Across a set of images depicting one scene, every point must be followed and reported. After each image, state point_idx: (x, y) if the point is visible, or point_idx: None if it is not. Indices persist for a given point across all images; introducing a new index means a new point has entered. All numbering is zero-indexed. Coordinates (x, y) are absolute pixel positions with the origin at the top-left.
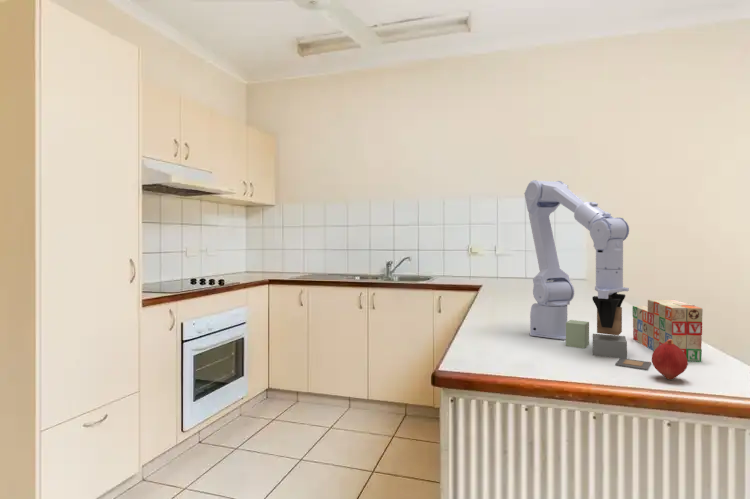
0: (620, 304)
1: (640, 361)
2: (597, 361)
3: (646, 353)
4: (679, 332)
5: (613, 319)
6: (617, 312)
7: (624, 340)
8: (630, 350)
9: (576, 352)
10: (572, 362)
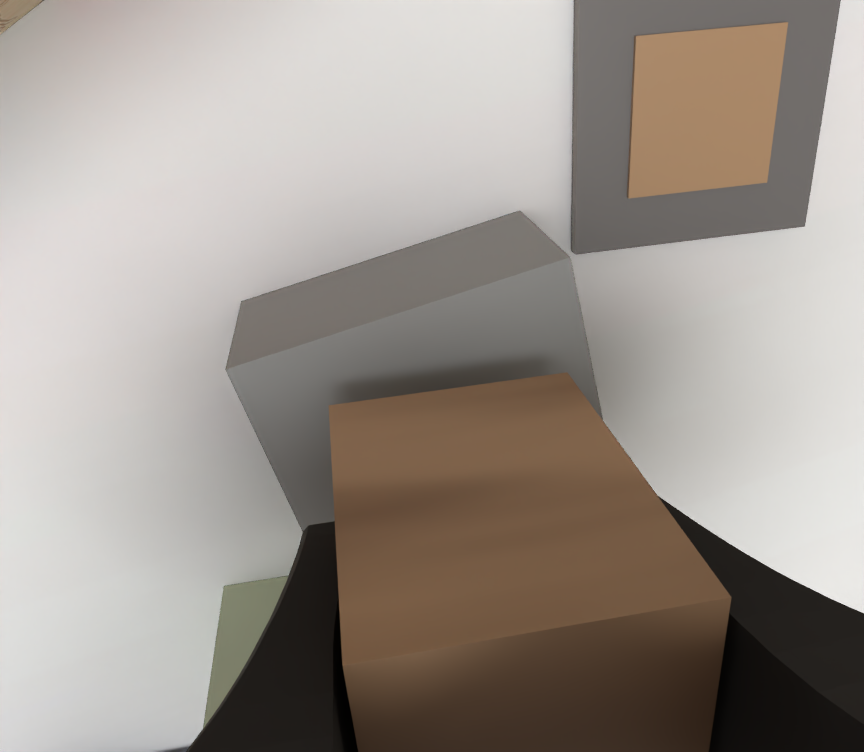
0: (327, 734)
1: (606, 73)
2: (736, 360)
3: (158, 113)
4: None
5: (697, 525)
6: (697, 570)
7: (481, 305)
8: (155, 275)
9: None
10: (843, 466)
